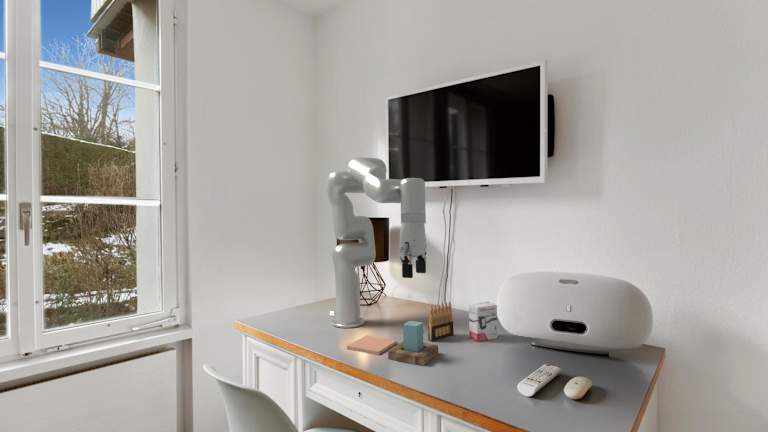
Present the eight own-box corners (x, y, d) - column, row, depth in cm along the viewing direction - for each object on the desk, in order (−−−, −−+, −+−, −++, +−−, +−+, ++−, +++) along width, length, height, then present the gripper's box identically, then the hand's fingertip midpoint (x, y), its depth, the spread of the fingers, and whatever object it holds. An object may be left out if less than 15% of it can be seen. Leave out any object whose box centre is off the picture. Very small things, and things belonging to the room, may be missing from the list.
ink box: (477, 342, 133) (477, 307, 133) (468, 338, 137) (468, 303, 137) (498, 338, 136) (497, 304, 136) (488, 334, 141) (488, 301, 141)
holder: (387, 359, 119) (387, 350, 119) (405, 347, 129) (405, 339, 129) (423, 366, 113) (423, 357, 113) (438, 353, 123) (438, 345, 123)
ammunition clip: (431, 341, 134) (431, 306, 134) (428, 340, 136) (427, 305, 135) (453, 335, 141) (453, 301, 140) (450, 334, 142) (449, 300, 142)
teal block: (403, 357, 120) (403, 324, 120) (410, 352, 124) (409, 320, 124) (417, 359, 118) (416, 326, 118) (423, 355, 122) (422, 322, 122)
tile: (346, 348, 129) (346, 345, 129) (366, 338, 139) (366, 335, 139) (378, 355, 123) (378, 351, 123) (396, 343, 133) (396, 340, 133)
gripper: (413, 218, 131) (414, 270, 131) (388, 219, 115) (390, 279, 116) (435, 218, 127) (436, 271, 127) (412, 219, 112) (413, 280, 112)
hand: (414, 275), depth 121 cm, fingers open, 9 cm apart
